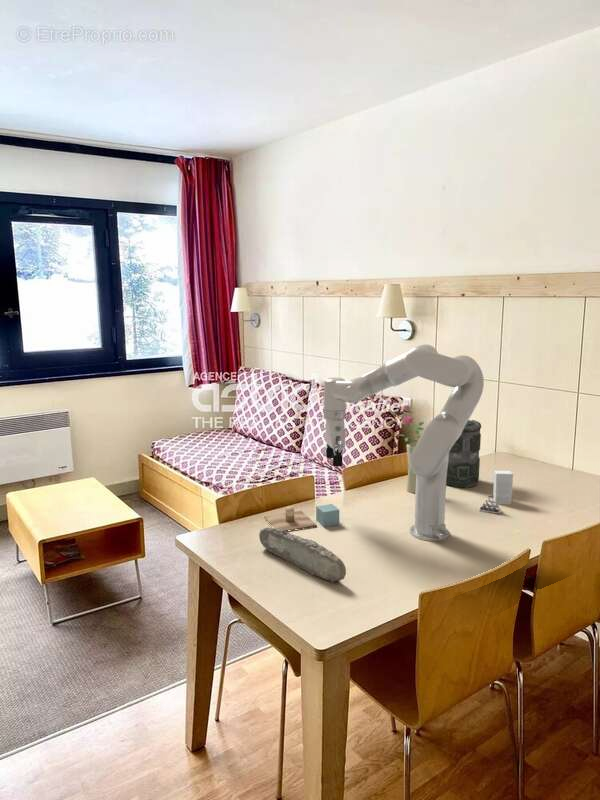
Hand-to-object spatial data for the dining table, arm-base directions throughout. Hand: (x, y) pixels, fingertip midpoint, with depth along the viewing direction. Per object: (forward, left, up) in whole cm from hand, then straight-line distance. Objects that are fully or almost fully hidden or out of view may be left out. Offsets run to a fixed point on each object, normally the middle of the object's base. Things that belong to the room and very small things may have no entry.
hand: (334, 462), depth 202 cm
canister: (+15, -65, -21) cm, 69 cm away
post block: (+1, +16, -21) cm, 26 cm away
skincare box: (-11, -65, -21) cm, 69 cm away
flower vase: (+12, -38, -21) cm, 45 cm away
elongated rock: (-31, +25, -21) cm, 45 cm away
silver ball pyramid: (-17, -57, -21) cm, 63 cm away
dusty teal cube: (-4, +4, -21) cm, 22 cm away
